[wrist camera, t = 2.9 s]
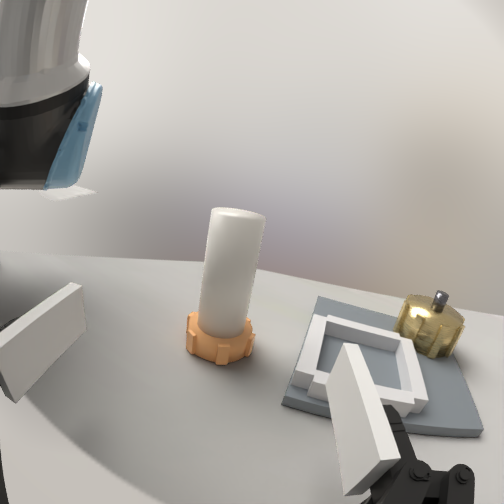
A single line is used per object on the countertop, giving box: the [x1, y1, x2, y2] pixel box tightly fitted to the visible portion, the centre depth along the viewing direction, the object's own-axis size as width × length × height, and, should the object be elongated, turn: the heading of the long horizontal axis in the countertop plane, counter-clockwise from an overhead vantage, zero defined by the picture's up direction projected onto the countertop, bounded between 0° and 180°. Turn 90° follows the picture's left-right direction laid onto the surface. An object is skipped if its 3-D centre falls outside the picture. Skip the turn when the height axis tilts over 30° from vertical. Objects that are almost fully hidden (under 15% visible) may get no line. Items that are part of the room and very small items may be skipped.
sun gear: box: [393, 290, 465, 359], centre depth 26 cm, size 8×8×6 cm
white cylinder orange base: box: [186, 207, 266, 365], centre depth 22 cm, size 6×6×12 cm
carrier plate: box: [281, 296, 484, 437], centre depth 24 cm, size 18×19×2 cm
